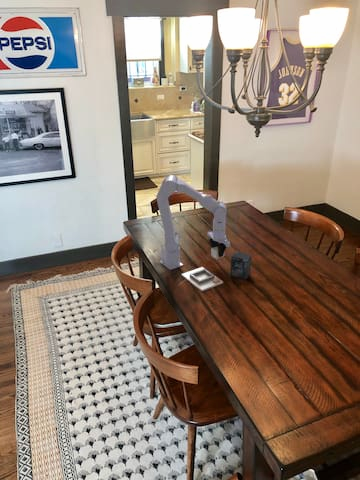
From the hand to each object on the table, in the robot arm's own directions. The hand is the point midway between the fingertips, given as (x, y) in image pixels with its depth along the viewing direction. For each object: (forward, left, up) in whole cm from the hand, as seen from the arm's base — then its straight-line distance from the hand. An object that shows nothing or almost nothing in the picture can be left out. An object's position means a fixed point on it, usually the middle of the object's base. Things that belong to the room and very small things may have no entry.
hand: (217, 254), depth 177 cm
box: (+12, +4, -7) cm, 15 cm away
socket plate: (+5, -13, -7) cm, 15 cm away
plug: (0, 0, -2) cm, 2 cm away
